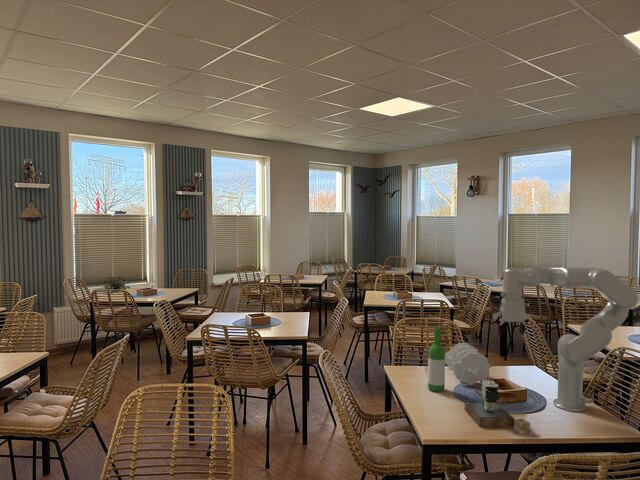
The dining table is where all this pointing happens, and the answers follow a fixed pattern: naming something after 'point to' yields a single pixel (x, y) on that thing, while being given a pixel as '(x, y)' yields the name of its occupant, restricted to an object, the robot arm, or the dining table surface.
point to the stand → (489, 415)
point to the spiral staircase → (467, 363)
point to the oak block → (522, 426)
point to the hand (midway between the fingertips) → (511, 333)
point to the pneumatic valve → (490, 394)
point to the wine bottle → (436, 364)
